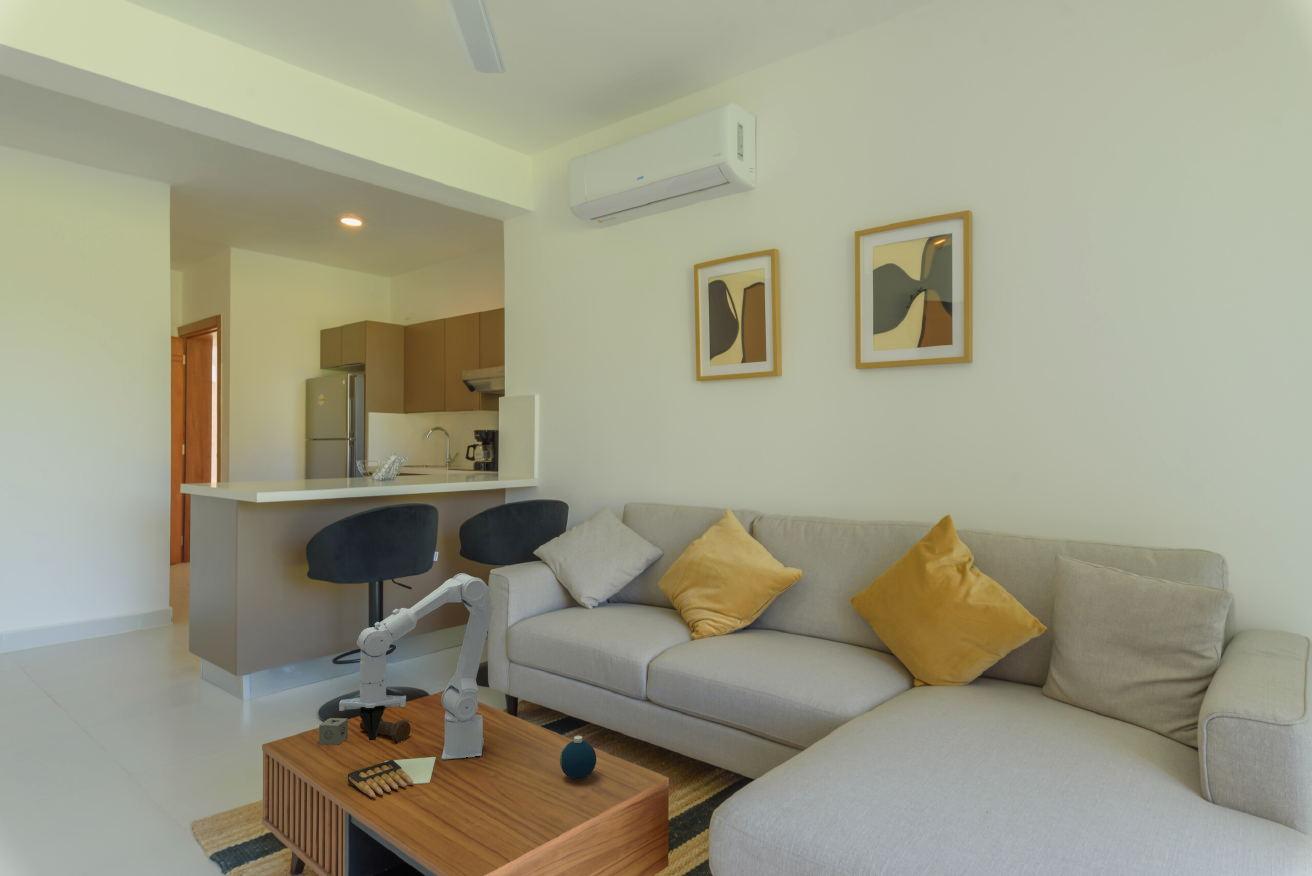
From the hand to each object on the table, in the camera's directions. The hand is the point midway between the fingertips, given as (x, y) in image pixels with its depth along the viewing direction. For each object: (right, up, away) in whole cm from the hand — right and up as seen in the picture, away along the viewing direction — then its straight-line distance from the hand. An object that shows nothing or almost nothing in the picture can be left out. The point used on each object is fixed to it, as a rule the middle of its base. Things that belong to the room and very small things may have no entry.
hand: (372, 738), depth 172 cm
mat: (+7, -8, +1) cm, 11 cm away
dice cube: (-18, -9, +20) cm, 28 cm away
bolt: (-6, -9, +24) cm, 26 cm away
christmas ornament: (+48, -9, -2) cm, 49 cm away
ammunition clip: (0, -7, -1) cm, 7 cm away
